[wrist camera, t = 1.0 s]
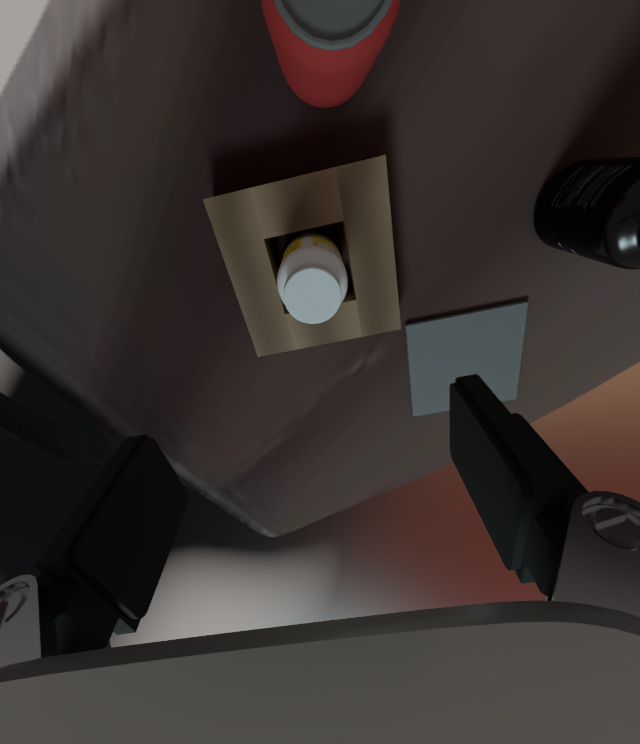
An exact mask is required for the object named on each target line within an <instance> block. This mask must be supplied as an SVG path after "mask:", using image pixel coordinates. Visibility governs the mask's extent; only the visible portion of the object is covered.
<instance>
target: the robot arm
mask: <svg viewBox="0 0 640 744" xmlns="http://www.w3.org/2000/svg"><path fill="white" fill-rule="evenodd" d="M449 391H450V453H451V457H452V460H453V462H454V464H455V466H456V468H457V470H458V472H459V474H460V476H461V478H462V480H463V482H464V484H465V486H466V488H467V490H468V492H469V494H470V496H471V498H472V500H473V502H474V504H475V506H476V508H477V510H478V512H479V515H480V517H481V518H482V521H483V523H484V525H485V527H486V529H487V531H488V533H489V535H490V537H491V539H492V541H493V543H494V545H495V547H496V549H497V551H498V553H499V555H500V557H501V559H502V561H503V563H504V565H505V567H506V568H507V569H508V570H515V572H516V574H517V576H518V578H519V580H520V581H521V583H530V582H535V583H536V585H537V586H538V588H539V590H540V592H541V593H543V594H544V595H546V596H547V600H546V601H516V602H495V603H486V604H476V605H465V606H455V607H446V608H445V607H444V608H434V609H424V610H416V611H407V612H399V613H390V614H382V615H374V616H364V617H356V618H347V619H339V620H330V621H322V622H313V623H306V624H297V625H289V626H280V627H273V628H264V629H256V630H248V631H240V632H232V633H223V634H215V635H207V636H199V637H191V638H184V639H176V640H168V641H161V642H152V643H145V644H138V645H129V646H122V647H114V648H111V646H110V641H109V639H110V637H111V635H112V633H113V632H115V633H116V634H117V635H118V634H126V633H134V632H136V630H137V627H138V625H139V622H140V620H141V618H142V617H144V616H145V614H146V613H147V611H148V608H149V606H150V603H151V600H152V597H153V595H154V592H155V590H156V587H157V585H158V582H159V579H160V577H161V574H162V571H163V568H164V566H165V563H166V560H167V558H168V555H169V552H170V550H171V547H172V545H173V542H174V539H175V537H176V534H177V531H178V529H179V526H180V523H181V521H182V518H183V516H184V513H185V510H186V508H187V505H188V501H189V496H188V492H187V491H186V489H185V487H184V486H183V484H182V483H181V481H180V479H179V478H178V476H177V475H176V473H175V471H174V470H173V468H172V467H171V465H170V463H169V462H168V460H167V459H166V457H165V456H164V454H163V452H162V451H161V449H160V448H159V446H158V444H157V443H156V441H155V440H154V439H152V438H150V437H149V436H147V435H139V436H134V437H128V438H126V439H124V440H123V442H122V443H121V444H120V446H119V447H118V449H117V450H116V451H115V453H114V454H113V456H112V457H111V459H110V460H109V461H108V463H107V464H106V466H105V467H104V468H103V470H102V471H101V473H100V474H99V475H98V477H97V478H96V480H95V481H94V482H93V484H92V485H91V487H90V488H89V489H88V491H87V492H86V494H85V495H84V497H83V498H82V499H81V501H80V502H79V504H78V505H77V506H76V508H75V509H74V511H73V512H72V513H71V515H70V516H69V518H68V519H67V521H66V522H65V523H64V525H63V526H62V528H61V529H60V530H59V532H58V533H57V535H56V536H55V537H54V539H53V540H52V542H51V543H50V545H49V546H48V547H47V549H46V550H45V552H44V553H43V554H42V556H41V557H40V559H39V560H38V561H37V563H36V564H35V567H37V568H38V569H39V570H40V571H41V573H40V575H39V576H38V578H36V577H34V576H32V575H22V576H19V577H16V578H13V579H11V580H10V581H8V582H6V583H4V584H3V585H1V586H0V744H640V502H638V501H636V500H634V499H632V498H629V497H627V496H624V495H622V494H617V493H613V492H608V491H592V492H588V491H587V490H586V489H585V487H583V485H582V484H581V483H580V482H579V481H578V479H577V478H576V477H575V476H574V475H573V474H572V473H571V472H570V471H569V469H568V468H567V467H566V466H565V465H564V464H563V462H562V461H561V460H560V459H559V458H558V457H557V455H556V454H555V453H554V452H553V451H552V450H551V448H550V447H549V446H548V445H547V444H546V443H545V442H544V440H543V439H542V438H541V437H540V436H539V435H538V434H537V432H535V430H534V429H533V428H532V427H531V426H530V424H529V423H528V422H527V421H526V420H525V419H524V418H523V417H522V416H521V415H520V414H517V413H514V414H511V413H510V412H509V411H508V410H507V408H506V407H505V406H504V405H503V404H502V402H501V401H500V400H499V399H498V398H497V396H496V395H495V394H494V393H493V392H492V390H491V389H490V388H489V387H488V386H487V384H486V383H485V382H484V381H483V380H482V378H481V377H480V376H479V375H478V374H473V375H468V376H462V377H457V378H456V380H455V383H451V384H450V388H449Z"/></svg>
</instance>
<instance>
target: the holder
mask: <svg viewBox="0 0 640 744" xmlns="http://www.w3.org/2000/svg"><path fill="white" fill-rule="evenodd" d="M203 201H204V204H205V207H206V210H207V213H208V215H209V218H210V221H211V224H212V227H213V230H214V233H215V235H216V238H217V241H218V244H219V247H220V250H221V253H222V255H223V258H224V261H225V264H226V267H227V270H228V273H229V275H230V278H231V281H232V284H233V287H234V290H235V293H236V295H237V298H238V301H239V304H240V307H241V310H242V313H243V315H244V318H245V321H246V324H247V327H248V330H249V333H250V335H251V338H252V341H253V344H254V347H255V350H256V353H257V355H258V357H260V356H266V355H271V354H276V353H281V352H286V351H291V350H296V349H302V348H307V347H312V346H317V345H322V344H327V343H332V342H337V341H343V340H348V339H353V338H358V337H363V336H368V335H373V334H378V333H384V332H389V331H394V330H399V329H401V323H400V311H399V300H398V289H397V277H396V266H395V255H394V243H393V232H392V220H391V209H390V198H389V186H388V175H387V164H386V155H382V156H378V157H374V158H370V159H366V160H362V161H358V162H354V163H350V164H346V165H342V166H337V167H333V168H329V169H325V170H321V171H317V172H313V173H309V174H305V175H301V176H297V177H293V178H289V179H284V180H280V181H276V182H272V183H268V184H264V185H260V186H256V187H252V188H248V189H244V190H240V191H235V192H231V193H227V194H223V195H219V196H215V197H211V198H207V199H203ZM341 221H342V224H343V231H344V237H345V243H346V249H347V256H348V262H349V268H350V274H351V281H352V287H353V290H349V291H347V292H346V295H345V298H344V300H343V301H342V303H341V304H340V306H339V308H338V310H337V312H336V313H335V314H334V315H333V316H332V317H331V318H330V319H328V320H326V321H324V322H322V323H317V324H308V323H304V322H301V321H299V320H297V319H296V318H294V317H293V316H292V315H291V314H290V313H289V311H288V310H287V308H286V306H285V304H284V303H283V301H282V300H281V297H280V295H279V292H278V287H277V276H278V268H277V264H276V261H275V257H274V253H273V250H272V246H271V242H270V238H271V237H276V236H280V235H284V234H289V233H293V232H298V231H302V230H306V229H311V228H315V227H319V226H324V225H328V224H332V223H337V222H341Z"/></svg>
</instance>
